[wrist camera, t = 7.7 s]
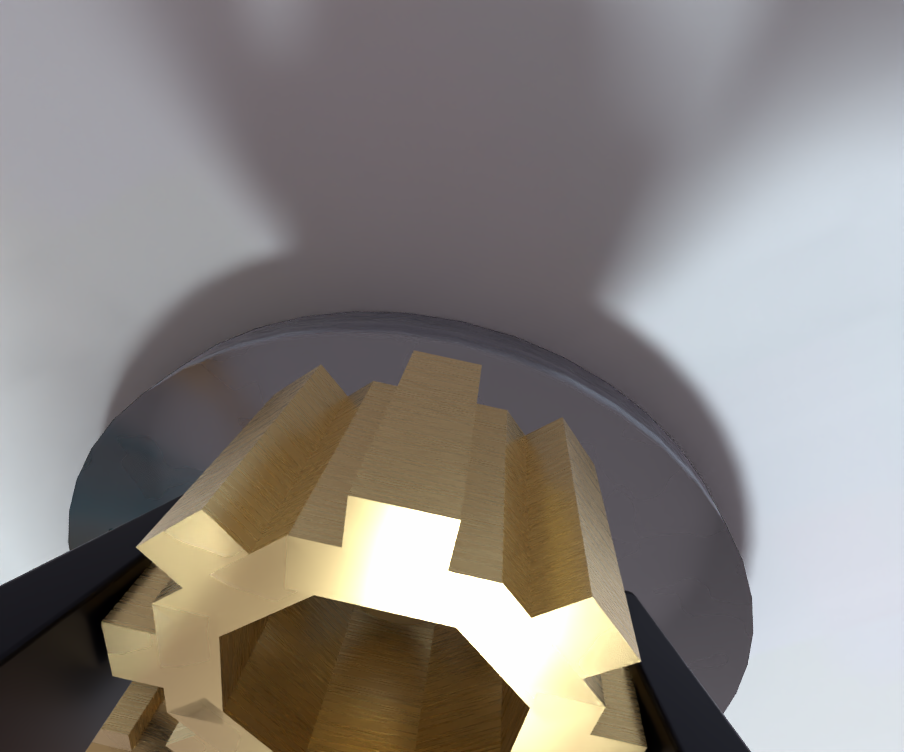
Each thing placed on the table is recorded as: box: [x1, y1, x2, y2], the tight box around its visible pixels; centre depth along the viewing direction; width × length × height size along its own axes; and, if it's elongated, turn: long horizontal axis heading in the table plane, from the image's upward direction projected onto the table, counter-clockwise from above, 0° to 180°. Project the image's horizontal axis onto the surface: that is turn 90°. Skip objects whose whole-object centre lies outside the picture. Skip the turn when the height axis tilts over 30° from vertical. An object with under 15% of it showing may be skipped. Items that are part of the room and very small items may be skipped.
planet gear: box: [101, 350, 647, 752], centre depth 8 cm, size 7×7×4 cm
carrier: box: [68, 312, 753, 752], centre depth 13 cm, size 19×19×6 cm
